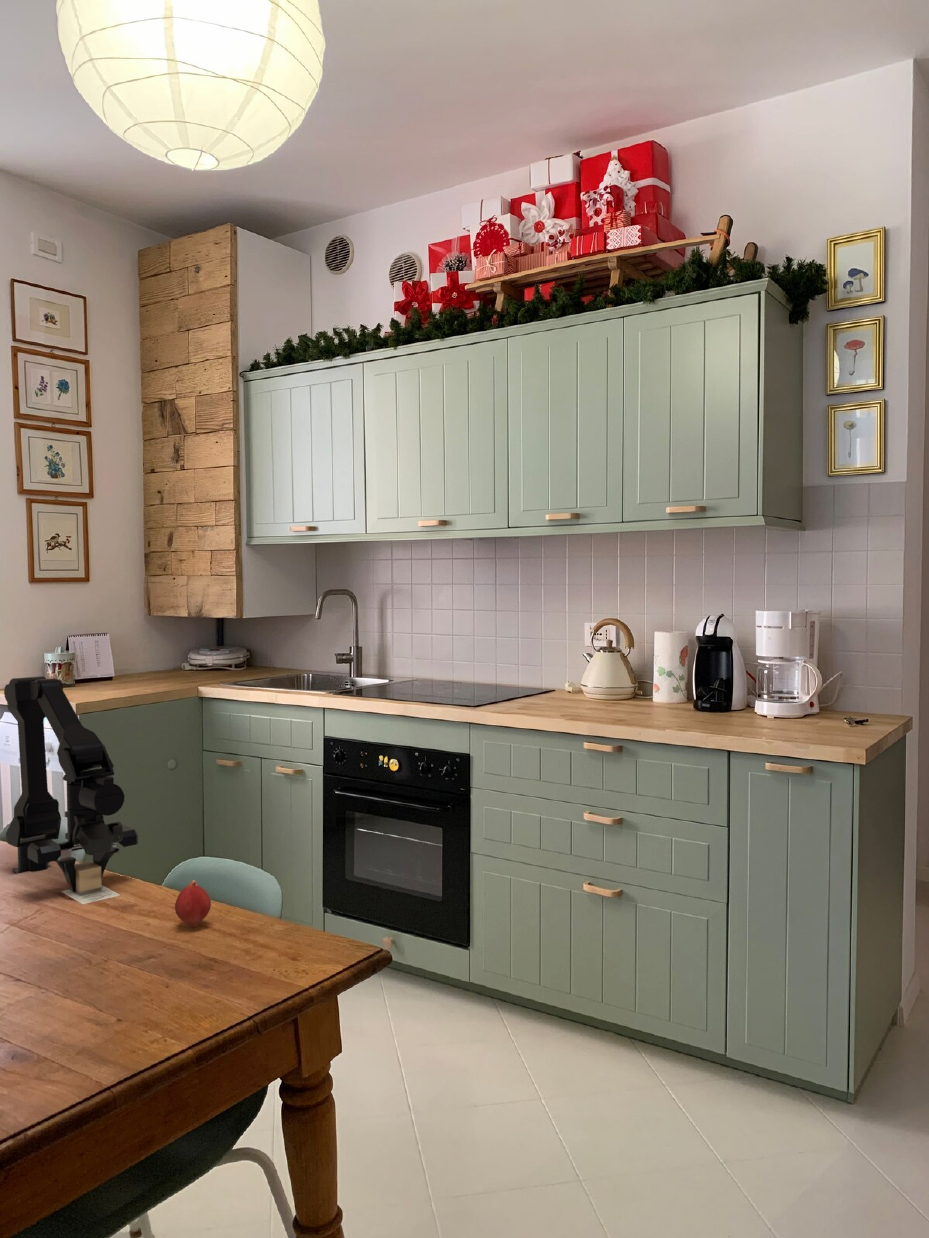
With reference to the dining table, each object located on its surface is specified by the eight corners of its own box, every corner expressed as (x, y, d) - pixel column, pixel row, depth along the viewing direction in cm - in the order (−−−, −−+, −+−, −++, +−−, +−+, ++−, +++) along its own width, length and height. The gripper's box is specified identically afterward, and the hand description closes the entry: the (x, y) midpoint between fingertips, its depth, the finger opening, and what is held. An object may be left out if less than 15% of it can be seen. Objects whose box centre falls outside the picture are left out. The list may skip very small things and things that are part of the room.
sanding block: (69, 889, 176) (69, 865, 176) (90, 884, 179) (90, 860, 179) (80, 895, 173) (79, 871, 173) (101, 890, 175) (101, 866, 175)
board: (61, 896, 175) (61, 891, 175) (98, 887, 180) (98, 882, 180) (82, 909, 168) (82, 903, 168) (120, 900, 173) (120, 894, 173)
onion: (168, 930, 157) (167, 883, 157) (188, 919, 163) (187, 873, 163) (198, 934, 156) (197, 886, 155) (217, 922, 161) (216, 876, 161)
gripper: (48, 823, 163) (50, 911, 164) (150, 805, 176) (152, 887, 177) (25, 812, 171) (27, 896, 172) (124, 795, 184) (126, 874, 185)
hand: (85, 889), depth 176 cm, fingers closed on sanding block, 4 cm apart
